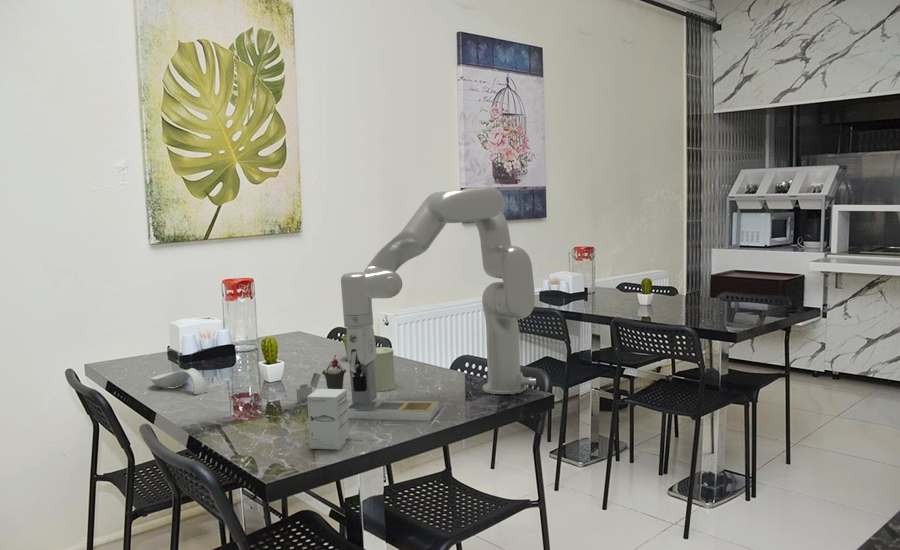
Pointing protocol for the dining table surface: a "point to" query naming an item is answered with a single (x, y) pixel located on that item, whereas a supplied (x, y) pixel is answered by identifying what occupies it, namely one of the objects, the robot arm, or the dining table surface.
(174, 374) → the spoon rest
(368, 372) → the gray rectangular block
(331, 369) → the sundae
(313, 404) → the supplement box
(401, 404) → the gray compartment tray
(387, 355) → the can
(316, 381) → the lighter
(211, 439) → the dining table surface
